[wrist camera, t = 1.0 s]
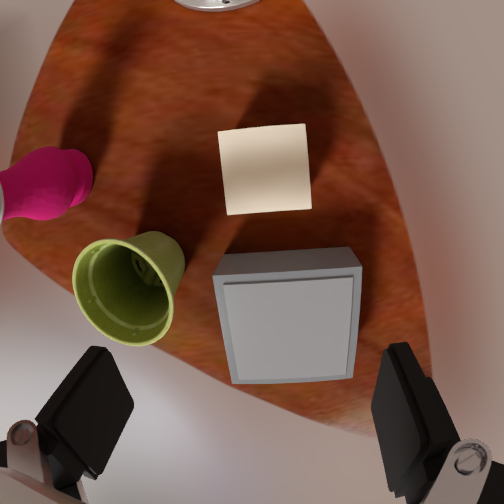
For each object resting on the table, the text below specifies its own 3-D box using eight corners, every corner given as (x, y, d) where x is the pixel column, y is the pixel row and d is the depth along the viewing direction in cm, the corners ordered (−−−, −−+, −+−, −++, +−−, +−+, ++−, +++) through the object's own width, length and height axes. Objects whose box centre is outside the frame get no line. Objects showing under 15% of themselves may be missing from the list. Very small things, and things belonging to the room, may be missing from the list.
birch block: (231, 135, 25) (217, 131, 19) (299, 129, 24) (305, 123, 19) (238, 200, 27) (227, 215, 21) (304, 195, 26) (311, 208, 21)
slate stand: (223, 254, 29) (212, 276, 24) (349, 246, 27) (362, 267, 22) (238, 353, 33) (232, 385, 28) (344, 348, 31) (352, 379, 26)
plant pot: (105, 230, 29) (56, 259, 21) (180, 200, 27) (140, 223, 19) (140, 306, 32) (104, 351, 24) (215, 287, 30) (192, 337, 22)
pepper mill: (45, 194, 28) (-93, 250, 10) (60, 136, 26) (-96, 159, 7) (87, 219, 29) (-60, 300, 10) (105, 157, 26) (-70, 195, 8)
